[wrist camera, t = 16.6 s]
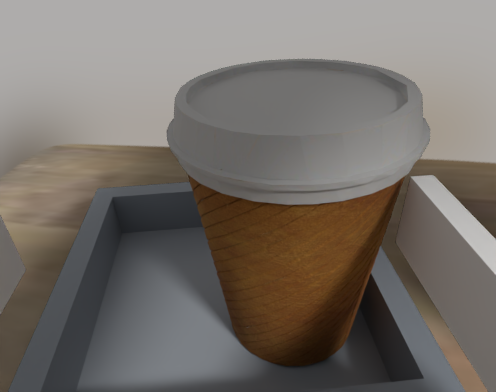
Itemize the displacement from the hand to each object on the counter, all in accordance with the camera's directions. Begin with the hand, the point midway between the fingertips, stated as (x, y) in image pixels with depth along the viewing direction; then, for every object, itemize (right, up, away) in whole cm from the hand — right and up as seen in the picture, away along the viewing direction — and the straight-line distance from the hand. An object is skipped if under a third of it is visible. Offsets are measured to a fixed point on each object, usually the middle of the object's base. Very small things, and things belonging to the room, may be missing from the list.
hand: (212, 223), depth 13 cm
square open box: (0, -6, +9) cm, 11 cm away
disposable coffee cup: (+3, -5, +8) cm, 10 cm away
